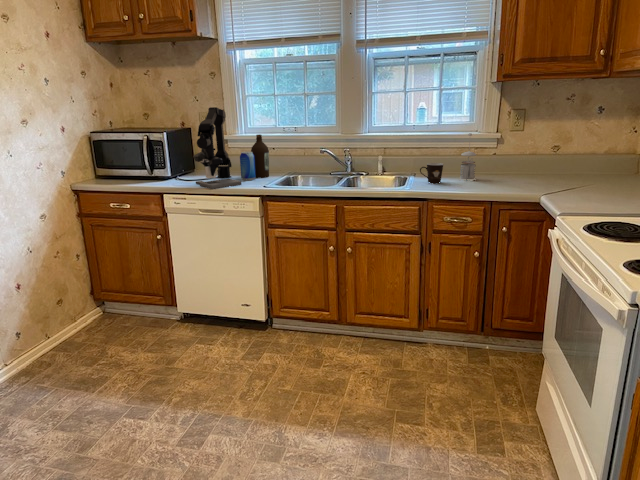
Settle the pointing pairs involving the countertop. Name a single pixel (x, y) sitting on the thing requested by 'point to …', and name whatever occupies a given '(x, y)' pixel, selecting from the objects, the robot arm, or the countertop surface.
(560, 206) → the countertop surface
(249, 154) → the beer can
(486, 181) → the countertop surface
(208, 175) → the block
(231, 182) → the outlet plate
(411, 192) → the countertop surface
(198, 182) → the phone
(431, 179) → the coffee mug
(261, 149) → the olive oil
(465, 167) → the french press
